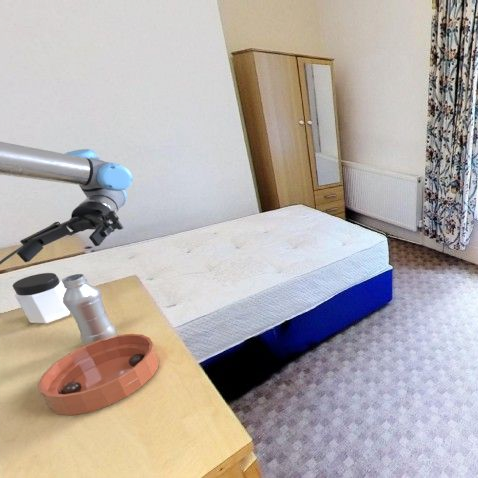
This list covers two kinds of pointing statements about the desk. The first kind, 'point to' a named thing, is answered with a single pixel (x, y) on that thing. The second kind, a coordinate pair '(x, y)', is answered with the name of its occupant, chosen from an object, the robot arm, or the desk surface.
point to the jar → (41, 297)
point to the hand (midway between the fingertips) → (59, 249)
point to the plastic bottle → (87, 309)
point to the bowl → (99, 374)
